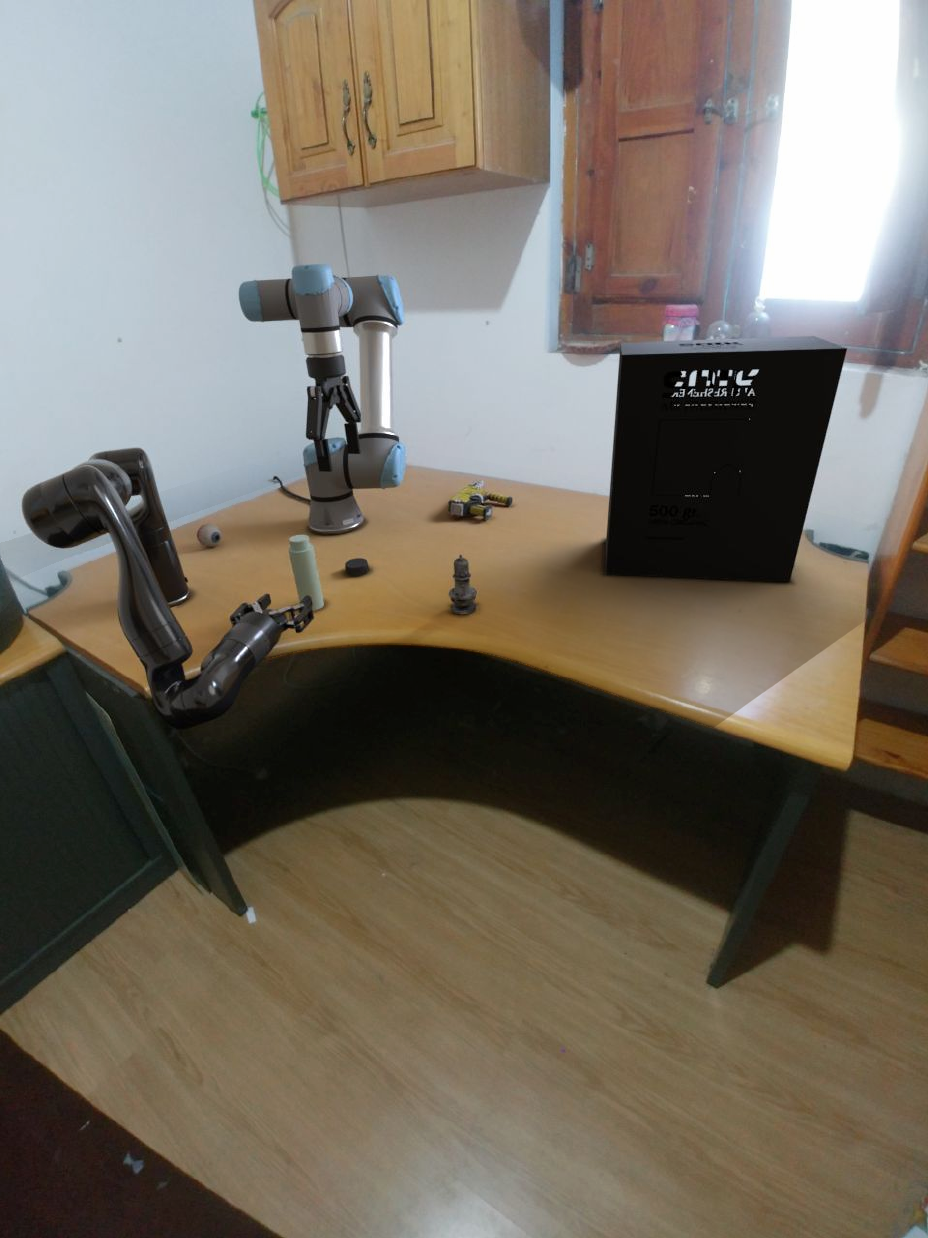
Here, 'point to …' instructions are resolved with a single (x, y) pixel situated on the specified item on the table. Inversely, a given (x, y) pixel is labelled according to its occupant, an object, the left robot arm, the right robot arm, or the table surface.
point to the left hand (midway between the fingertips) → (288, 598)
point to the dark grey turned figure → (462, 588)
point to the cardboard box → (717, 455)
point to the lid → (356, 567)
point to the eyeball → (209, 535)
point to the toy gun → (475, 501)
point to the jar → (305, 570)
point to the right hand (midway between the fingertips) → (340, 462)
